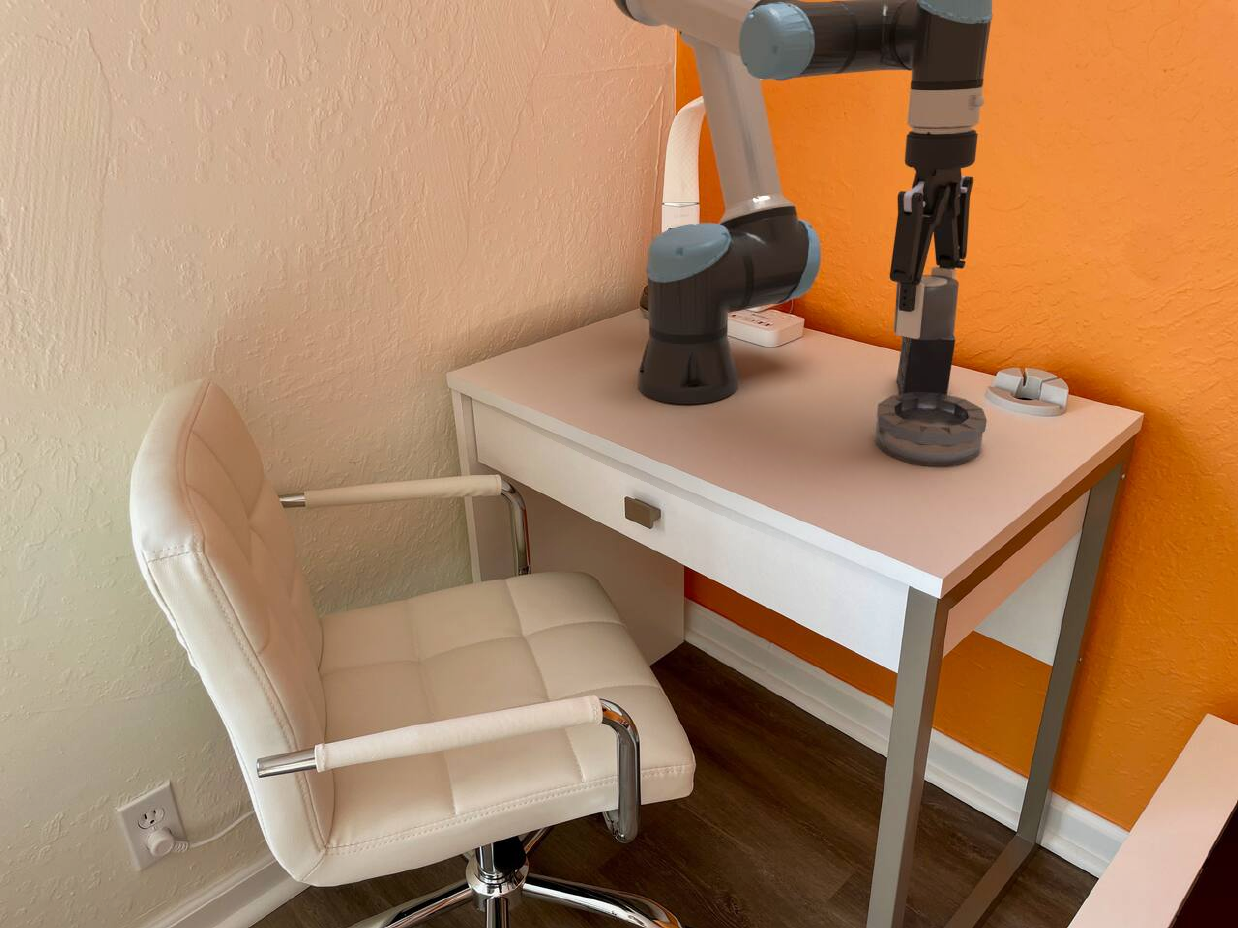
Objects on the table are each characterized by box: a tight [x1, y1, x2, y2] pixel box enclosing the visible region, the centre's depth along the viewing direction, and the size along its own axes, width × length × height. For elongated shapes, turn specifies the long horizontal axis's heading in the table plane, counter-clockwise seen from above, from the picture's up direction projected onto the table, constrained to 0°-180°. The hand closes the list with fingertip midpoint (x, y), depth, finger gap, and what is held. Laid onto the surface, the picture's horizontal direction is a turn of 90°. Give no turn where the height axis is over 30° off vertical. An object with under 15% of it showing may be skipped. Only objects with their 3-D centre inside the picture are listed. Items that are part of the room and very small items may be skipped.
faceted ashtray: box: [875, 392, 987, 468], centre depth 119 cm, size 13×13×4 cm
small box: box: [896, 333, 956, 395], centre depth 132 cm, size 11×6×10 cm, turn 168°
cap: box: [893, 274, 960, 340], centre depth 111 cm, size 7×7×6 cm
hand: (923, 328), depth 112 cm, fingers closed on cap, 7 cm apart
